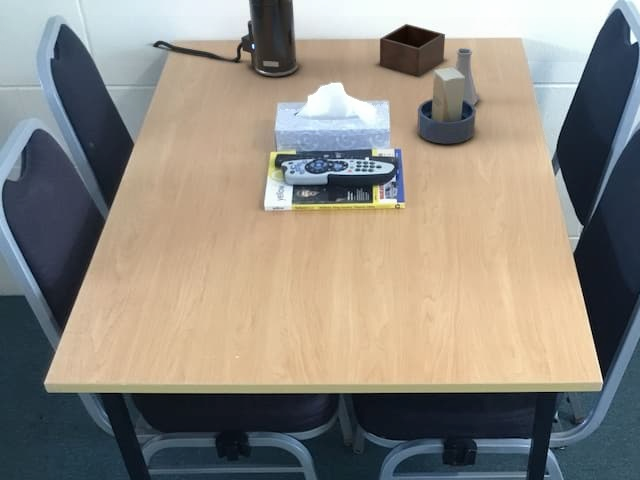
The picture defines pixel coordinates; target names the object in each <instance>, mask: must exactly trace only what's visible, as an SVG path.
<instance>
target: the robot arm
mask: <svg viewBox="0 0 640 480" xmlns="http://www.w3.org/2000/svg"><path fill="white" fill-rule="evenodd" d="M248 5H249V6H248V7H249V15H250V16H249V17H250V20H248V21H247V32H248V33H247V34H245V35H244V36H241V38H240V39H241V40H240V41H241V42H240V43H239V44H238V45H237V47H236V57H235V58H233V59H231V58H230V59H228V58H224V57H223V56H220V55H218V54H216V53H213V52H209V51H204V50H199V49H192V48H187V47H181V46H177V45H173V44H171V43H168V42H167V41H164V40H156V42H154V44H153V45H152V47H153V48H158V46H164V47H166V48H168V49H171V50H173V51H176V52H183V53H188V54H194V55H200V56H206V57H210V58H213V59H214V60H217V61H223V62H230V63H238V62H239V61H240V60H241V58H242V52H246V53H249V54H250V59H251V60H250V61H251V68H252V69H254V70H255V71H256V73H258V74H259V75H262V76H265V77H284V76H288V75H291V74H293V73H295V72H296V71H297V69H298V61H297V60H298V59H297V46H296V30H295V15H294V13H295V12H294V0H248ZM241 49H242V52H241Z"/></svg>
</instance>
